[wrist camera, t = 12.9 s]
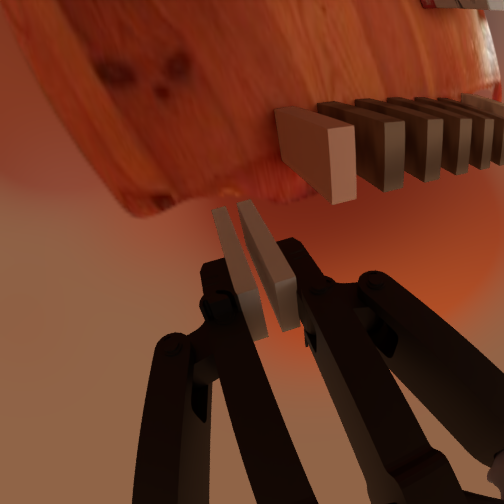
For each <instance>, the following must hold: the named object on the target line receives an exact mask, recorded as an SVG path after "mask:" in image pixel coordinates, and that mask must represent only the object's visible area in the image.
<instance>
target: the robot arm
mask: <svg viewBox="0 0 504 504" xmlns="http://www.w3.org/2000/svg"><path fill="white" fill-rule="evenodd" d="M237 207H238V212H239V216H240V220H241V225H242V229H243V233H244V238H245V242H246V246H247V249H248V251H249V253H250V256H251V258H252V261H253V263H254V265H255V268H256V270H257V272H258V275H259V277H260V280H261V282H262V284H263V287H264V289H265V291H266V294H267V296H268V299H269V301H270V303H271V306H272V308H273V310H274V313H275V315H276V318H277V320H278V322H279V325H280V327H281V329H282V332H285V331H288V330H291V329H294V328H297V327H300V320H301V322H302V324H303V326H304V335H305V345H306V347H308V344H309V346H310V349H311V351H312V353H313V356H314V358H315V360H316V363H317V365H318V367H319V370H320V372H321V374H322V377H323V379H324V381H325V384H326V386H327V388H328V391H329V393H330V396H331V398H332V400H333V403H334V405H335V407H336V409H337V412H338V415H339V417H340V419H341V422H342V424H343V426H344V429H345V431H346V433H347V436H348V438H349V441H350V443H351V446H352V448H353V450H354V453H355V455H356V458H357V460H358V463H359V465H360V468H361V470H362V472H363V475H364V477H365V480H366V483H367V491H368V495H369V498H370V501H371V504H504V373H503V372H502V371H501V370H499V369H498V368H497V367H496V366H495V365H494V364H493V363H492V362H491V361H490V360H489V359H488V358H487V357H485V356H484V355H483V354H482V353H481V352H480V351H479V350H478V349H477V348H475V347H474V346H473V345H472V344H471V343H470V342H469V341H468V340H467V339H465V338H464V337H463V336H462V335H461V334H459V332H457V331H456V330H455V329H454V328H453V327H452V326H450V325H449V324H448V323H447V322H446V321H444V320H443V319H442V318H441V317H440V316H438V315H437V314H436V313H435V312H434V311H432V310H431V309H430V308H429V307H428V306H426V305H425V304H424V303H423V302H421V301H420V300H419V299H418V298H416V297H415V296H414V295H413V294H411V293H410V292H409V291H408V290H406V289H405V288H404V287H403V286H401V285H400V284H399V283H397V282H396V281H395V280H394V279H392V278H391V277H390V276H388V275H387V274H385V273H383V272H380V271H368V272H365V273H363V274H362V275H361V276H360V277H359V280H358V282H356V283H336V282H335V281H334V280H333V279H332V278H330V277H327V276H324V275H323V273H322V272H321V270H320V269H319V267H318V266H317V265H316V263H315V262H314V260H313V259H312V257H311V256H310V255H309V253H308V252H307V250H306V249H305V248H304V246H303V245H302V243H301V242H300V241H298V240H296V239H294V238H293V237H292V238H288V239H284V240H281V241H277V242H276V241H275V240H274V238H273V236H272V234H271V233H270V231H269V229H268V228H267V226H266V224H265V223H264V221H263V219H262V218H261V216H260V214H259V212H258V211H257V209H256V208H255V206H254V204H253V202H252V201H251V200H246V201H242V202H238V203H237ZM212 214H213V217H214V221H215V225H216V228H217V232H218V235H219V239H220V243H221V246H222V250H223V253H224V258H221V259H218V260H214V261H211V262H207V263H204V264H203V266H202V268H201V271H200V275H201V281H202V287H203V293H204V295H203V296H202V298H201V300H200V304H199V307H200V310H201V312H202V314H203V317H204V319H205V321H204V323H203V325H201V327H200V328H198V329H197V330H196V331H194V332H192V333H190V334H189V335H187V336H186V335H184V334H182V333H176V332H175V333H171V334H167V335H166V336H164V337H162V338H161V339H160V341H159V342H158V343H157V345H156V347H155V351H154V356H153V361H152V366H151V371H150V376H149V381H148V387H147V392H146V398H145V404H144V410H143V416H142V423H141V429H140V436H139V443H138V450H137V458H136V467H135V476H134V487H133V498H132V504H209V472H210V471H209V470H210V466H209V465H210V429H211V402H212V382H213V381H215V380H216V379H218V378H220V382H221V386H222V390H223V394H224V397H225V401H226V405H227V408H228V412H229V416H230V419H231V422H232V426H233V430H234V433H235V436H236V440H237V443H238V446H239V449H240V453H241V456H242V460H243V462H244V466H245V469H246V472H247V475H248V478H249V481H250V484H251V487H252V490H253V493H254V496H255V499H256V502H257V504H318V502H317V500H316V497H315V495H314V493H313V490H312V488H311V486H310V484H309V481H308V479H307V476H306V474H305V471H304V469H303V467H302V464H301V462H300V459H299V457H298V455H297V452H296V450H295V447H294V445H293V442H292V440H291V437H290V435H289V433H288V430H287V428H286V425H285V423H284V420H283V417H282V415H281V412H280V410H279V408H278V405H277V402H276V400H275V397H274V395H273V392H272V389H271V387H270V384H269V382H268V379H267V376H266V374H265V371H264V369H263V366H262V363H261V361H260V358H259V355H258V353H257V350H256V347H255V344H254V342H253V341H256V340H260V339H263V338H266V337H268V332H267V327H266V323H265V318H264V314H263V309H262V305H261V300H260V296H259V291H258V287H257V285H256V283H255V280H254V277H253V275H252V272H251V270H250V267H249V265H248V262H247V260H246V257H245V254H244V252H243V249H242V247H241V244H240V242H239V239H238V237H237V234H236V232H235V229H234V226H233V224H232V221H231V219H230V216H229V214H228V211H227V209H226V206H224V207H220V208H217V209H213V210H212ZM389 369H390V370H391V371H392V372H393V373H394V374H395V375H396V376H397V377H398V379H399V380H401V382H402V383H403V384H404V385H405V386H406V387H407V388H408V389H409V390H410V391H411V392H412V393H413V394H414V395H415V396H416V397H417V398H418V399H419V400H420V401H421V402H422V404H423V405H424V406H425V407H426V408H427V409H428V410H429V411H430V412H431V413H432V414H433V415H434V416H435V417H436V418H437V419H438V421H440V423H441V424H442V425H443V426H444V427H445V428H446V429H447V430H448V431H449V432H450V433H451V434H452V435H453V436H454V438H455V439H456V440H457V441H458V442H459V443H460V444H461V445H462V446H463V447H464V448H465V449H466V450H467V451H468V452H469V453H470V454H471V455H472V456H473V457H474V458H475V459H477V460H478V461H479V462H481V463H482V464H484V465H486V466H488V467H490V468H491V469H490V470H489V471H488V474H487V480H488V481H489V482H491V483H493V484H494V485H495V486H497V487H498V488H499V490H500V492H501V499H497V498H492V497H488V496H483V495H479V494H475V493H472V492H468V491H464V490H462V489H461V486H460V484H459V482H458V480H457V478H456V476H455V473H454V471H453V469H452V467H451V465H450V463H449V461H448V460H447V458H446V456H445V455H444V454H443V453H442V452H440V451H438V450H436V449H434V448H432V447H431V446H430V444H429V442H428V440H427V438H426V437H425V435H424V433H423V431H422V429H421V427H420V425H419V423H418V421H417V419H416V417H415V415H414V414H413V412H412V410H411V408H410V406H409V404H408V402H407V401H406V399H405V397H404V395H403V393H402V392H401V390H400V388H399V386H398V384H397V383H396V381H395V379H394V377H393V375H392V374H391V372H390V370H389Z"/></svg>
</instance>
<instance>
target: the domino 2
mask: <svg viewBox="0 0 504 504" xmlns="http://www.w3.org/2000/svg"><path fill="white" fill-rule="evenodd" d="M317 108H318V113H319V114H322V115H325V116H328V117H331V118H334V119H337V120H340V121H343V122H346V123H349V124H351V125H354V131H355V152H356V174H357V175H359V176H360V177H362V178H363V179H365V180H366V181H368V182H369V183H371V184H372V185H374V186H375V187H377V188H378V189H380V190H381V191H382V192H388V191H392V190H395V189H400V188H403V179H404V160H405V121H403V120H400V119H397V118H394V117H391V116H388V115H384V114H381V113H378V112H374V111H371V110H367V109H363V108H360V107H356V106H352V105H348V104H344V103H340V102H335V101H332V102H323V103H317Z"/></svg>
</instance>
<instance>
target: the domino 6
mask: <svg viewBox="0 0 504 504" xmlns="http://www.w3.org/2000/svg"><path fill="white" fill-rule="evenodd" d="M438 101H441V102H444V103H448V104H451V105H454V106H458V107H461V108H464V109H467V110H470V111H473V112H476V113H479V114H482V115H484V116H487V117H490V118H492V119H494V130H493V142H492V152H491V160H490V161H492V162H494V163H495V164H497V165H499V166H500V165H504V117H502V116H500V115H497V114H495V113H492V112H489V111H486V110H483V109H480V108H478V107H474V106H471V105H468V104H465V103H462V102H458V101H455V100H451V99H448V98H438Z"/></svg>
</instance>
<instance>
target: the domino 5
mask: <svg viewBox="0 0 504 504" xmlns="http://www.w3.org/2000/svg"><path fill="white" fill-rule="evenodd" d="M415 101H417V102H420V103H424V104H428V105H431V106H435V107H438V108H441V109H445V110H448V111H451V112H454V113H457V114H460V115H463V116H466V117H469V118H471V119H472V132H471V145H470V156H469V164H470V165H472V166H474V167H476V168H478V169H480V170H482V169H487V168H489V167H490V160H491V152H492V142H493V130H494V119H492V118H490V117H487V116H484V115H482V114H479V113H476V112H473V111H470V110H467V109H464V108H461V107H458V106H454V105H451V104H448V103H444V102H441V101H437V100H433V99H429V98H425V97H415Z"/></svg>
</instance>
